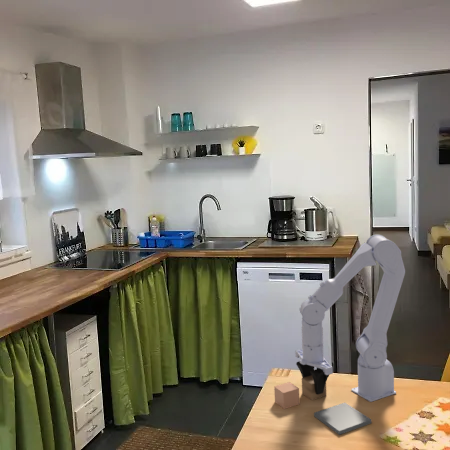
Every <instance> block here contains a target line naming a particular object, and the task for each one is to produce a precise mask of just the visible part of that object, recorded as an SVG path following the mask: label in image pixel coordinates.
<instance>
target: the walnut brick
mask: <svg viewBox="0 0 450 450" xmlns="http://www.w3.org/2000/svg"><path fill="white" fill-rule="evenodd" d="M301 394H302V395H303V396H305V397H306V398H308V399H309V400H311V401H313V400H316V399H320V398H322V397H327V383H326V384H325V387H324V392H323V393H322V394H318V395H317V394H316V392H315V386H314V380H313V377H312V375H311V376H307V377H304V378H301Z"/></svg>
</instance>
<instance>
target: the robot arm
mask: <svg viewBox="0 0 450 450" xmlns="http://www.w3.org/2000/svg"><path fill="white" fill-rule="evenodd" d="M376 262H377V263H378V265H379V267H380V269H382V271H383V274H382V278H381V281H380V284H379V287H378V291H377V294H376V297H375V301H374V304H373V307H372V310H371V314H370V317H369V321H368V324H367V326H366V327H364V328H363V330H362V333H361V334H360V336H358V338H356V339H357V340H356V342H355V348H356V350H357V351H358V353H359V356H358V358H357V387H352V388H351V392H353V393H354V394H356V395H358V396H359V397H361V398H362V399H364V400H366V401H368V402H370V403H372V402H374V401H378V400H380V399H381V400H382V399H383V398H387V397H389V396H393V395H396V394H397V391H396V390H395V371H394V367H393V364H392V362H391V361H390V360H388V359H387V358H388V353H387V347H388V336H387V332H388V329H389V328H390V327H389V326H390V324H391V320H392V317H393V314H394V310H395V307H396V304H397V301H398V297H399V294H400V291H401V287H402V285H403V281H404V278H405V275H406V268H405V264H404V261H403V257H402V250H401V249H400V247H399V246H398V245H397V243H395V242H394V241H393V240H390V239H388V238H387V237H385V236H384V235H382V234H373V235H371V236H369V237H368V238H367V240H366V242H364V243H362V244H361V245H360V247H359V248H358V249H357V250H356V252H355V253H354V254H353V255H352V257H351V258H350V259H349V260H348V261H347V262H346V263H345V265H344V266H343V267H342V268H341V270H340V271H339V272H338V273H337V274H336V276H334V277H333V278H328V279H325V281H323V280H322V281H321V282H320V283H319V287H318V288H317V289H316V290H315V291H314V292H313V294H311V295H309V296H307V299H305V300H304V301H302V302H301V304H300V307H299V313H300V315H301V316H302V318H301V341H302V342H301V345H302V348H300V349H297V350H295V351H294V355H295V357H296V358H297V359H298V358H299V359H300V360H298V361H297V362H296V363H295V365H296V366H297V369H298V370H299V372H300V374H301V377H302V378H304V377H307V376H311V375H312V377H313V380H314V386H315V392H316V394H317V395H318V394H322V393H323V392H324V387H325V384H326V385H327V381H328V378H329V377H330V375H333V373H334V371H333V365H331V364H329V362H328V361H327V360H326V358H325V357H324V328H323V321H324V320H325V315H326V314H325V313H326V312H327V311H328V310H329V309H330V308H331V307H332V306H333V305H334V304H335V303H336V302H337V301H338V300H339V299H340V298H341V297H342V295H343V294H344V287H345V286H346V285H347V284H348V283H349V282H350V281H351V280H352V279H353V278H354V277H355V276H357V274H358V273H360V272H361V270H363V268H365V267H373V266H377V263H376ZM315 368H316V369H315ZM302 378H301V379H302Z"/></svg>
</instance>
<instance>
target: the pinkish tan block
mask: <svg viewBox="0 0 450 450" xmlns="http://www.w3.org/2000/svg"><path fill="white" fill-rule="evenodd" d="M273 388H274V389H273V390H274V391H273V392H274V402H275V403H276V404H277V405H278V406H279V407H281V408H282V409H283V410H285V409H288V408H291V407H295V406H297V405H298V406H299V405H300V388H299V387H298V386H296V385H295V384H294V383H292V382H290V381H287V382H284V383H281V384H278V385H275V386H273Z"/></svg>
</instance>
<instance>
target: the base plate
mask: <svg viewBox="0 0 450 450" xmlns="http://www.w3.org/2000/svg"><path fill="white" fill-rule="evenodd" d="M313 416H314V418H316V419H317V420H318V421H320V422H321V423H323V424H324V425H325V426H327V427H328V428H329V429H330V430H332V431H333V432H334V433H336V434H337V435H339V436H340V435H344V434H345V433H348V432H351V431H354V430H356V429H360V428H362V427H365V426H367V425H371V424H372V419H371V418H370V417H369V416H367V415H365V414H364V413H362V412H360V411H359V410H357V409H356V408H354V407H352V406H351V405H350V404H349V403H347V402H342V403H339V404H337V405H333V406H330V407H327V408H324V409H321V410H318V411H315V412H313Z"/></svg>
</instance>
